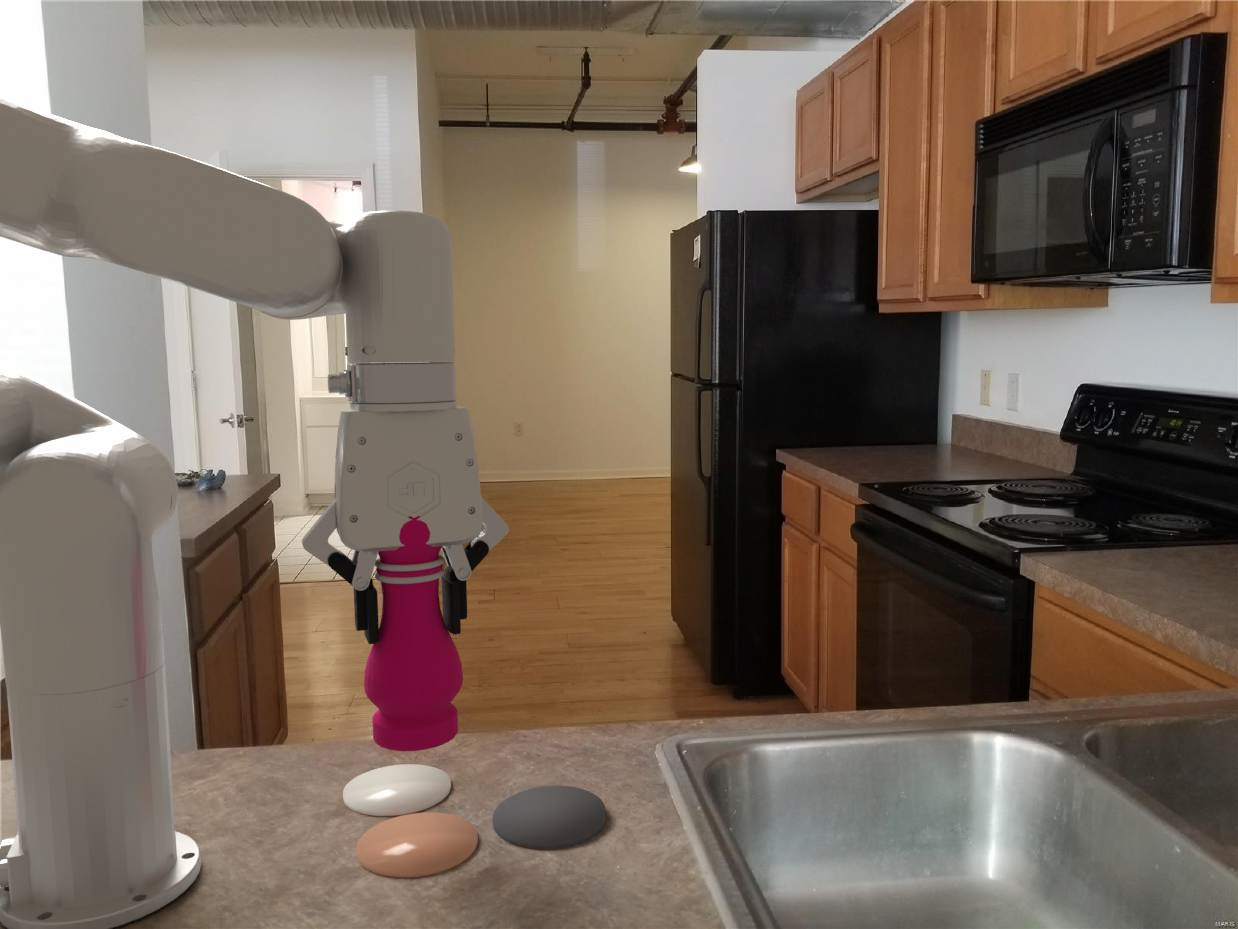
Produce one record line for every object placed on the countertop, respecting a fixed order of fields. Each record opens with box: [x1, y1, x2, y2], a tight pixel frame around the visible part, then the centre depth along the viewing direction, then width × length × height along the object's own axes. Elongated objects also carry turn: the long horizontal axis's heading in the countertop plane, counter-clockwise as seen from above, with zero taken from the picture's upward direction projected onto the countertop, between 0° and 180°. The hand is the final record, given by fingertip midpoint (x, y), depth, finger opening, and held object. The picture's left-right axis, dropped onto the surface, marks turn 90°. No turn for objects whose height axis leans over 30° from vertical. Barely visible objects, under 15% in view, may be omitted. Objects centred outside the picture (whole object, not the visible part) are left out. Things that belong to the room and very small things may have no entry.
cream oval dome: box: [342, 763, 452, 817], centre depth 82 cm, size 9×9×1 cm
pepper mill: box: [363, 516, 464, 752], centre depth 71 cm, size 7×7×20 cm
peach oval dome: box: [355, 811, 479, 878], centre depth 73 cm, size 9×9×1 cm
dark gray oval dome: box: [492, 785, 607, 850], centre depth 77 cm, size 9×9×1 cm
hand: (412, 631), depth 71 cm, fingers closed on pepper mill, 5 cm apart
